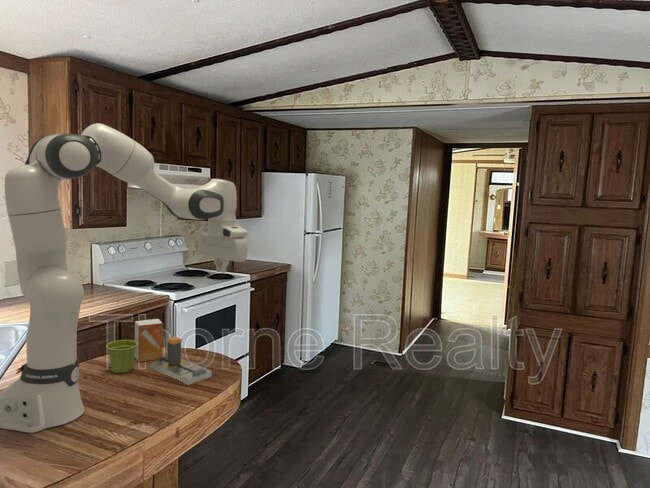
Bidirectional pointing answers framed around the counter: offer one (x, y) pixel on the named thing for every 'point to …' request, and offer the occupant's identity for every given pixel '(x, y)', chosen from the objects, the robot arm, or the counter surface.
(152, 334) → the small box
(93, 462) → the counter surface
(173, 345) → the fader knob
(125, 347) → the plant pot
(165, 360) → the fader console
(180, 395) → the counter surface
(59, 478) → the counter surface
